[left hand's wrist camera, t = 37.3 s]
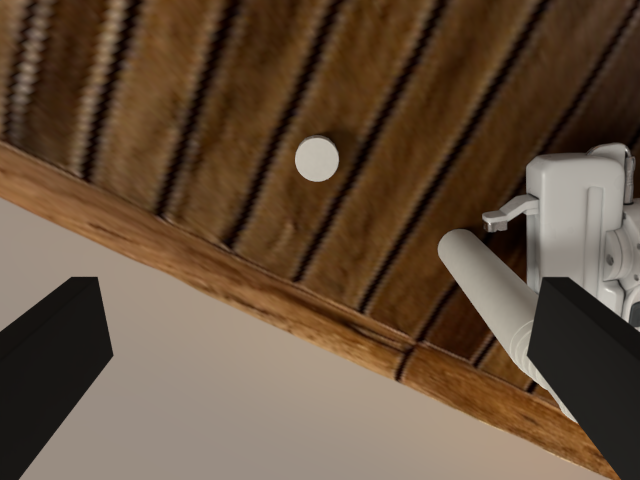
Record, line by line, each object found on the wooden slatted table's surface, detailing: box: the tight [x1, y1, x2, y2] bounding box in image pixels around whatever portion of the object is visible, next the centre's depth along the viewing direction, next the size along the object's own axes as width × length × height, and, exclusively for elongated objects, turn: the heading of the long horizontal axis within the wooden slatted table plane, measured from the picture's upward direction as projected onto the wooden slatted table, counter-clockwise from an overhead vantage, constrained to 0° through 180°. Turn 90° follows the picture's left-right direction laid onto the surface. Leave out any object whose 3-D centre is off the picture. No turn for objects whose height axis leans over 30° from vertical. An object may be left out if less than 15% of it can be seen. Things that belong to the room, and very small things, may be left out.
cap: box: [295, 135, 339, 181], centre depth 43 cm, size 4×4×2 cm
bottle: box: [438, 229, 578, 423], centre depth 36 cm, size 5×5×25 cm
